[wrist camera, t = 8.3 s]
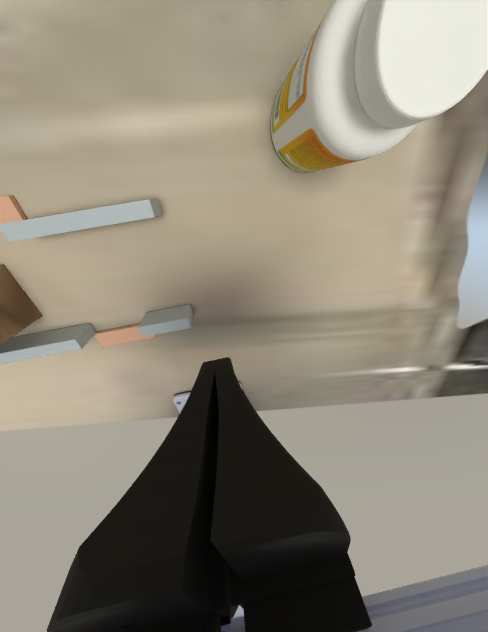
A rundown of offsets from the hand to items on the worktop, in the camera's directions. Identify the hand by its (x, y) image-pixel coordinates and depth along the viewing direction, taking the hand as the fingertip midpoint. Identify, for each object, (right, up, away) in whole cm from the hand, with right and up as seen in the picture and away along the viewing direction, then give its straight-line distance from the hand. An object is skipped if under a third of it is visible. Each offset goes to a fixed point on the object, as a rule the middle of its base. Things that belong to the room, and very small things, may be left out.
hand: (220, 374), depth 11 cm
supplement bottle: (+6, +16, +4) cm, 17 cm away
